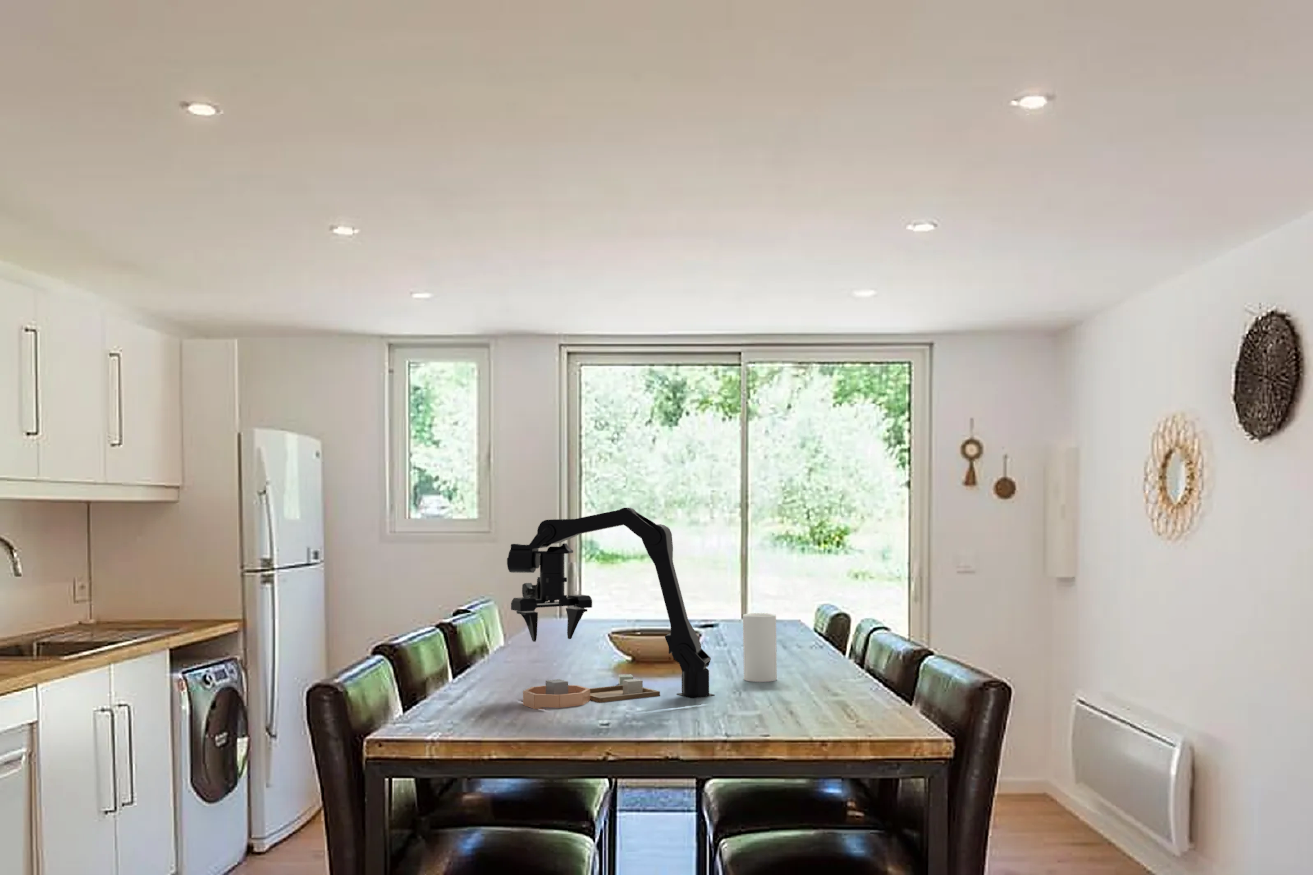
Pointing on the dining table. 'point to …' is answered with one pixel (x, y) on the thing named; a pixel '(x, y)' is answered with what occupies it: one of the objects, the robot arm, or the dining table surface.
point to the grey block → (556, 687)
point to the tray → (618, 694)
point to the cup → (759, 647)
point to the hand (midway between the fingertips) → (552, 640)
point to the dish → (555, 697)
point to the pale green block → (624, 678)
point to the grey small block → (632, 686)
